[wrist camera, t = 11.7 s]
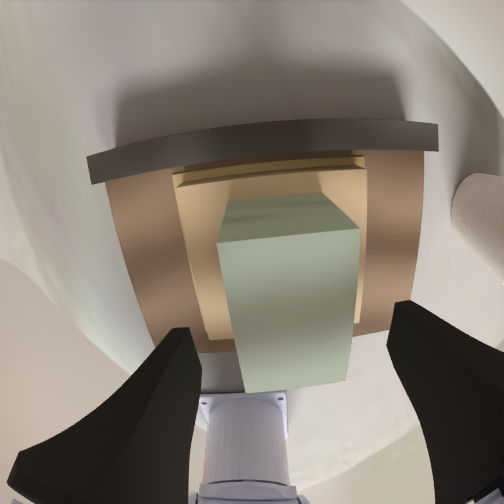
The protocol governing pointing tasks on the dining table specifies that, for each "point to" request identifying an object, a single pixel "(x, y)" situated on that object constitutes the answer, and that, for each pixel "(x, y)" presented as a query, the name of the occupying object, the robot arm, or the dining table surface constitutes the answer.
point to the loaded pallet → (258, 183)
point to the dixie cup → (481, 219)
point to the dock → (258, 160)
